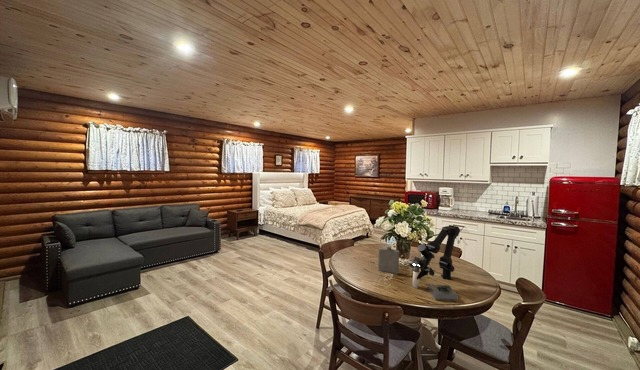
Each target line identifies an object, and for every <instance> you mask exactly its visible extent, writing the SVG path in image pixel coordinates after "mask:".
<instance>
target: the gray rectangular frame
mask: <svg viewBox="0 0 640 370" xmlns="http://www.w3.org/2000/svg"><path fill="white" fill-rule="evenodd" d="M428 291H429V293H430V295H431V296H432V297H433V299H434V300H435V301H446V302H447V301H448V302H449V301H450V302H458V298H459V297H458V296H459V295H458V294H457V292H456V291H455V290H454V289H453V287H452V286H451V285H445V284H444V285H443V284H428Z"/></svg>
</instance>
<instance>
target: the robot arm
mask: <svg viewBox="0 0 640 370" xmlns="http://www.w3.org/2000/svg"><path fill="white" fill-rule="evenodd" d="M460 232H461V229H460V227H459V226H456V225H451V224H449V225H446V226H443V227H442V228H441V230H440V231H439V233H438V234H437V236H436V237H435V238H434V240H432V241H430V242H429V243H428V244H427V243H424V242H423V243H421V244H419V245H418V246H417V250H418V252H419V253H420V255H422V257H421V256H420V257H416V256H414V258H413V260H411V259H410V260H408V262H407V264H408V265H409V266H410V267H411V268H412V269H413V267H417V268H419V275H418V276H417V279H419V280H420V279H421V278H423V277H425V276H428V275H429V276H431V277H434V276H435V271H434V270H433V268H431V267H429V266H430V263H431V260H432V259H435V257H436V256H435V254H438V253H439V252H440V250H441V245H442V243H443V241H444V240H445V239H447V240H446V243H445V248H444V252H443V255H442V256H440V257H439V260H438V266H439V268H440V269H441V270H442V274H440V277H441V278H442V279H444V280H453V278H452V273H453V272H454V271H455V266H454V265H453V260H452V254H453V250H454V245H455V241H456V239H457V237H458V236H459V235H460ZM446 237H447V238H446ZM411 277H412V278H413V270H412V272H411Z"/></svg>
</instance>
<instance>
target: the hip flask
mask: <svg viewBox="0 0 640 370" xmlns="http://www.w3.org/2000/svg"><path fill="white" fill-rule="evenodd" d="M377 251H378V252H377V253H378V254H377V255H378V256H377V271H378V272H384V273H390V274H395V275H398V274H399V269H400V268H399V267H400V266H399V264H400V251H399V249H398V250H396V249H392V245H391V246H390V245H387V246H386V248H382V247H379V248H378V250H377Z"/></svg>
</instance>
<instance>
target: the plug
mask: <svg viewBox="0 0 640 370" xmlns="http://www.w3.org/2000/svg"><path fill="white" fill-rule="evenodd" d="M412 271H413V277H412V285H411V286H412V288H414V289H418V288H419V286H420V278H419V279H417V276H418V275H419V273H420V268H417V267H413V268H412Z"/></svg>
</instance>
